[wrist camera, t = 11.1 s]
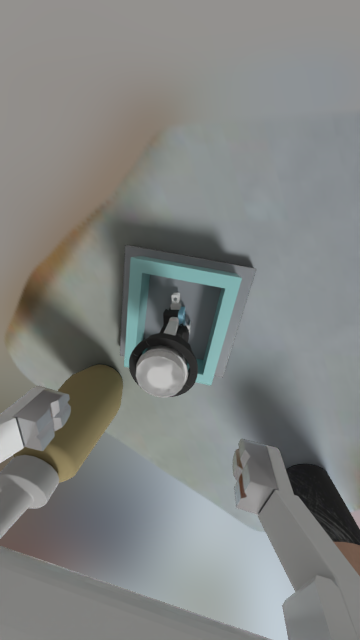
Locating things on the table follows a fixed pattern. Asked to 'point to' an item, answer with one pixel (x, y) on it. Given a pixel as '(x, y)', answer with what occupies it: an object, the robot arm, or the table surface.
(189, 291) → the socket plate
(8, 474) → the squeeze bottle
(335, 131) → the table surface
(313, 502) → the travel mug
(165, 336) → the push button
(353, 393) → the table surface
